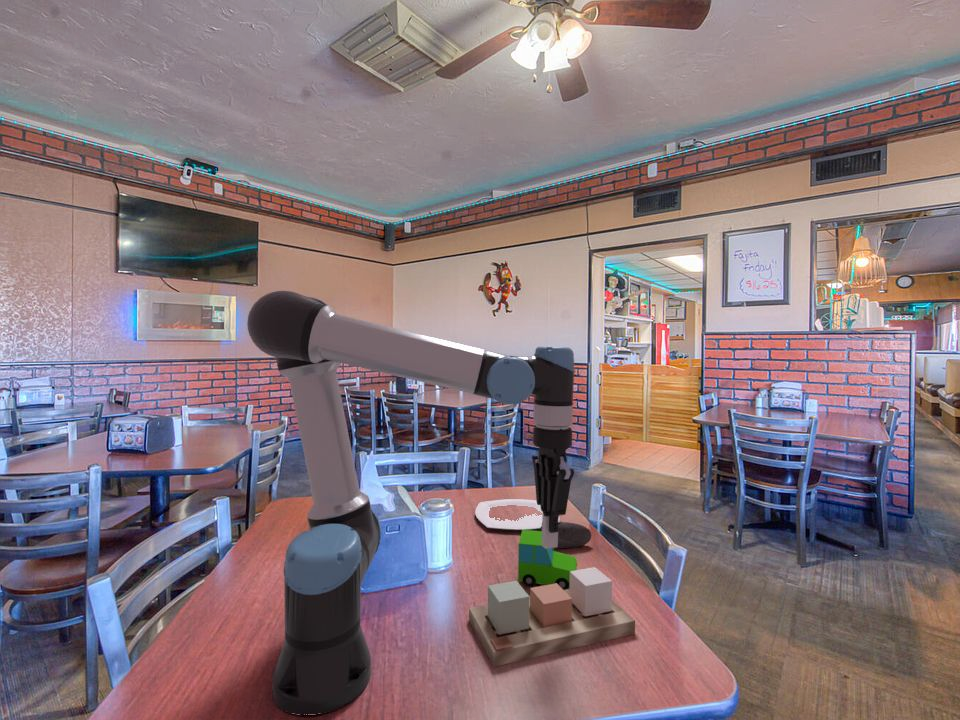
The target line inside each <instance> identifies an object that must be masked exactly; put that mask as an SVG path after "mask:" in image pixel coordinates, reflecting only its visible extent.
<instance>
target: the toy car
mask: <svg viewBox="0 0 960 720" xmlns="http://www.w3.org/2000/svg"><path fill="white" fill-rule="evenodd" d="M517 556H518V563H517V565H518V566H517V567H518V568H517V569H518V571H517V572H518V573H517V574H518V575H517V576H518V577H517V579H518V580H517V582H518V583H519V582H521V583H523V586H525V587H527V588H533V587H535V585H536V584H539V585H550V584H555V583H557V584H558V585H559V586H560V587H561V588H562V589H563V590H566V589H569V588H570V571H575V570H578V569H577V568H578V560H577V557H576V556H575V555H570V554H566V553H563V552H559V551H556V550H555V548H547V549H545V548H544V547H543V546H542V531H540V530H521V534H520V537H519V540H518V555H517Z"/></svg>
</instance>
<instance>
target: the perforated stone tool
mask: <svg viewBox="0 0 960 720" xmlns="http://www.w3.org/2000/svg"><path fill="white" fill-rule="evenodd" d="M539 531H542V526H541V527H540V529H539ZM591 539H592V532H591V530H590V529H589V528H588V527H586V526H584V525H581V524H578V523H576V522H570V521H569V522H567V521H560V522H558V547H555V548H554V549H569V548H579V547H583V546H585V545H587V544H588V543H589V542H590V541H591Z"/></svg>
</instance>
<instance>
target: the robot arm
mask: <svg viewBox="0 0 960 720" xmlns="http://www.w3.org/2000/svg"><path fill="white" fill-rule="evenodd" d="M246 325H247V331H248V335H249V337H250V339H251V341H252V343H253V344H254V345H255V346H256V347H257V348H258V349H259V350H260V351H261V352H263V353H265V354H266V355H268V356H270V357H273V358H275V361H276V365H277V370H278V374H280V375H281V376H283V377H285V378H286V379H287V380H288V381H289V387H290V389H291V396H292V399H293V405H294V406H293V407H294V410H295V415H296V421H297V427H298V431H299V435H300V441H301V445H302V450H303V455H304V457H303V458H304V461H305V465H306V471H307V475H308V481H309V485H310V491H311V495H312V501H313V503H312V505H311V507H310V509H309V510H308V511H307V514H306V516H307V520H308V521H307V522H308V527H309V530H304V531H302V532H301V533H299V534H298V535H297V536H295V537H294V538H293V539H292V540H291V541H290V543H289V544H288V546H287V548H286V551H285V559H284V562H283V563H284V564H283V565H284V566H283V569H282V571H283V577H284V642H283V644H282V647H281V650H280V653H279V657H278V659H277V662H276V666H275V668H274V672H273V674H272V698H274V699H273V701H274V703H275V704H277V705H278V706H279V707H280V708H281V709H280V708H279V707H278V706H277V705H276V706H277V707H278V708H279V709H280V710H282V711H283V710H284V711H283V712H285V711H287V712H289V713H288V714H290V713H295V714H300V715H304V714H305V715H306V714H307V715H308V714H318V713H325V712H328V713H330V712H329V711H331V712H333V711H332V710H334V711H336V710H335V709H337V708H339V709H340V707H341V708H342V706H343V707H344V705H345V704H346V705H348V704H350V703H351V702H353V701H354V700H355V699H356V698H358V697H359V695H361V693H363V691H364V690H365V689H366V687H367V685H368V683H369V682H370V679H371V676H372V675H371V674H372V656H371V652H370V649H369V645H368V643H367V641H366V638H365V635H364V632H363V629H362V626H361V601H362V600H361V597H362V596H361V591H362V590H361V589H362V582H363V580H364V578H365V576H366V574H367V572H368V569H369V567H370V566H371V563H372V561H373V559H374V558H375V555H376V553H377V552H378V550H379V546H380V544H381V535H382V528H381V527H382V526H381V522H380V519H379V516H378V515H377V513H376V512H375V511H374V510H373V509H372V505H371V502H370V498H369V497H370V496H369V495H367V494H366V493H364V492H362V491H361V490H360V487H359V481H358V476H357V471H356V466H355V461H354V456H353V451H352V450H353V449H352V447H351V446H352V445H351V440H350V435H349V431H348V425H347V419H346V416H345V415H346V414H345V410H344V406H343V400H342V393H341V389H340V384H339V379H338V375H337V374H338V373H337V370H338V369H339V367H340V365H341V364H343V365H344V364H345V365H349V366H353V367H357V368H362V369H365V370H369V371H374V372H379V373H382V374H387V375H391V376H396V377H400V378H404V379H408V380H412V381H417V382H420V383H425V384H428V385H429V384H430V385H434V386H438V387H442V388H447V389H451V390H456V391H459V392H463V393H467V394H468V393H469V394H471V395H476V396H479V397H483V398H488V399H491V400H495V401H497V402H498V403H500V404H503V405H508V406H510V405H512V406H513V405H518V404H521V403H523V402H525V401H526V400H528V399H529V397H530V396H533V421H532V423H533V424H534V427H533V428H532V433H533V434H532V443H533V445H534V446H535V447H537V448H538V450H537V451H538V452H537V454H533V455H532V456H531V460H532V464H533V472H534V473H533V474H534V486H535V499H536V500H537V505H540V506H541V511H543V514H542V546H543V547H544V548H545V549H547V548H554V549H556V548H555V547H558V518H560V516H564V515H566V513H567V507H568V502H569V496H570V489H571V484H572V480H573V477H574V475H575V469H574V468H569V466H568V465H567V463H568V462H567V461H568V458H567V451H568V450H567V449H570V448H572V446H573V429H572V427H571V426H572V425H573V413H574V409H573V408H574V407H573V405H574V383H575V381H574V379H575V358H574V351H573V349H572V348H570V347H566V346H538V347H536V348H535V351H534V354H533V355H531V356H517V355H507V354H502V353H498V352H494V351H489V350H485V349H481V348H478V347H473V346H470V345H465V344H461V343H457V342H453V341H449V340H445V339H441V338H436V337H432V336H427V335H424V334H421V333H416V332H412V331H407V330H403V329H400V328H396V327H395V328H394V327H391V326H387V325H382V324H378V323H374V322H371V321H367V320H363V319H358V318H354V317H349V316H345V315H341V314H339V313H337V312H336V311H335V310H334V309H333V307H332V306H330V305H328V304H327V303H325V302H324V301H322V300H320V299H318V298H314V297H309V296H306V295H302V294H300V293H298V292H294V291H291V290H290V291H289V290H278V291H277V290H275V291H271V292H268V293H266V294H264V295H263V296H261V297H259V299H257V301H256V302H254V304H252V307H251V309H250V310H249V313H248V316H247V324H246ZM349 702H350V703H349ZM347 703H348V704H347ZM346 705H345V706H346ZM337 710H338V709H337ZM287 712H286V713H287ZM325 714H326V713H325Z"/></svg>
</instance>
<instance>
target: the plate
mask: <svg viewBox="0 0 960 720" xmlns="http://www.w3.org/2000/svg"><path fill="white" fill-rule="evenodd" d="M507 505H517V506H528V507H534V508H536V509H537V510H538V511H540V512H541V513H542V514H543V511H541V506H540V505H537V500H535V499H521V498H520V499H519V498H517V499H516V498H509V499H506V498H505V499H494V500H487V501H480V502H479V503H478V505H477V506H476V508H475V511H474V515H475V516H476V519H478V521H479V522H480V523H481V524H482V525H483V526H484V527H486V528H487V529H493V530H507V531H522V530H532V531H535V530H540V527H541V526H542V515H539V516H538V515H537V514H536V513H535V514H536V515H537V516H536V515H535V514H532V516H531V515H529V516H527V515H526V514H525V515H526V516H524V518H523V517H521V518H522V519H521V518H519V520H518V519H517V520H518V521H517V520H516V521H514V520H512V521H511V520H508V519H505V521H503V520H501V521H499V520H500V518H497V519H499V520H495V517H494V518H490V517H489V511H490V508H492V507H497V506H507ZM560 520H561V518H560V517H559V518H558V522H561V521H560Z"/></svg>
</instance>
